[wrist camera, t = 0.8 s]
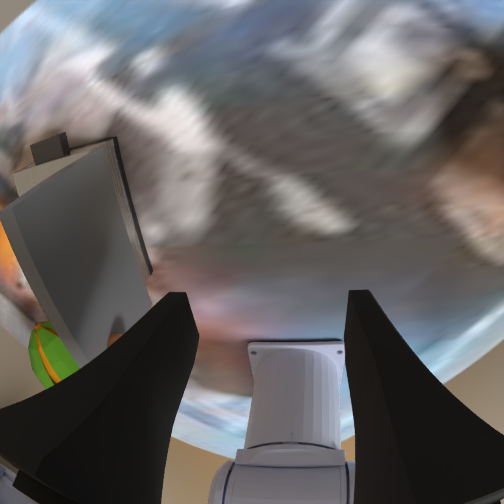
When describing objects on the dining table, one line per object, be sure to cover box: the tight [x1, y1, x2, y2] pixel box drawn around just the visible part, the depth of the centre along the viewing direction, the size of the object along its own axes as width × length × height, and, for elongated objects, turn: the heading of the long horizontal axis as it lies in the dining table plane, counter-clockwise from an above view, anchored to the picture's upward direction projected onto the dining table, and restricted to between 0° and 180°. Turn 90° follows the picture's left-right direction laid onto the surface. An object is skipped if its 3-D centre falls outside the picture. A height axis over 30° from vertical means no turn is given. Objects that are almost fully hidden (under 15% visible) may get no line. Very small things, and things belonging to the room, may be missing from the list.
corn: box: [28, 321, 80, 389], centre depth 28 cm, size 7×8×20 cm
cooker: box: [12, 132, 153, 283], centre depth 19 cm, size 13×8×3 cm, turn 6°
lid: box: [0, 148, 152, 368], centre depth 14 cm, size 10×8×2 cm
